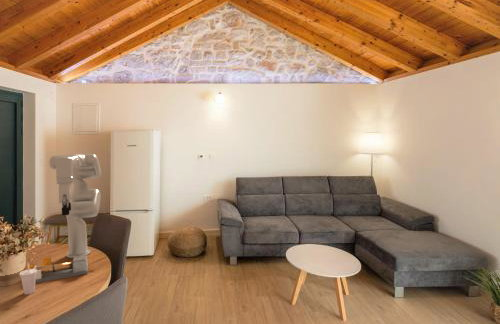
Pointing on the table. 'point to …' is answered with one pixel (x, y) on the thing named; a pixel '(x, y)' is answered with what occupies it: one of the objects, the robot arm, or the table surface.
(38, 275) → the light grey u-shaped block
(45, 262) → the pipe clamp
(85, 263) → the sleeve
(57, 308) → the table surface
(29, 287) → the smoothie
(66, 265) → the tube
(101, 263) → the table surface
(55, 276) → the board
